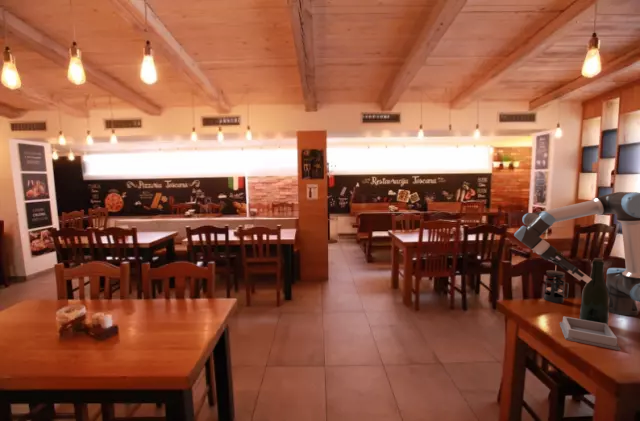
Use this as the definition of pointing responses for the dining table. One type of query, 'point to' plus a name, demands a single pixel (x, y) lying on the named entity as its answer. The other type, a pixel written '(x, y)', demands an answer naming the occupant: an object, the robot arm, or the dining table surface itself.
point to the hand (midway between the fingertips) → (585, 280)
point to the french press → (555, 287)
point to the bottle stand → (589, 332)
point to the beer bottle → (595, 295)
